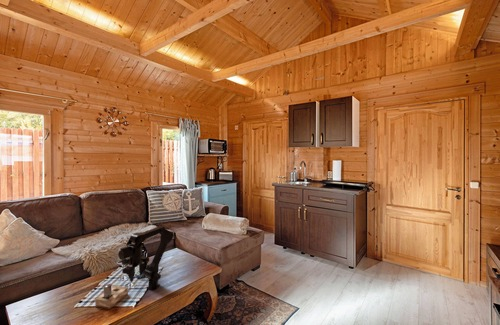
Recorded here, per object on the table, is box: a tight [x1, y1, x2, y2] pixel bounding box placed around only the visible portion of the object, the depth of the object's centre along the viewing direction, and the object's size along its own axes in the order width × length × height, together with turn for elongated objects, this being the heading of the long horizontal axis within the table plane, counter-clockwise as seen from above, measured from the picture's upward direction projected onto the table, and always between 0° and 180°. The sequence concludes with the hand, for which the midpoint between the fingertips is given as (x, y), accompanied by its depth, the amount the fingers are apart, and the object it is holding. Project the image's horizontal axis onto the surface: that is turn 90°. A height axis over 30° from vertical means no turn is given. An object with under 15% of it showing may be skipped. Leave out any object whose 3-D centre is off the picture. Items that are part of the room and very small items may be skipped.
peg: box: [103, 283, 112, 299], centre depth 147 cm, size 4×4×10 cm
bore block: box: [94, 285, 129, 310], centre depth 151 cm, size 15×10×4 cm, turn 168°
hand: (136, 277), depth 155 cm, fingers open, 9 cm apart
